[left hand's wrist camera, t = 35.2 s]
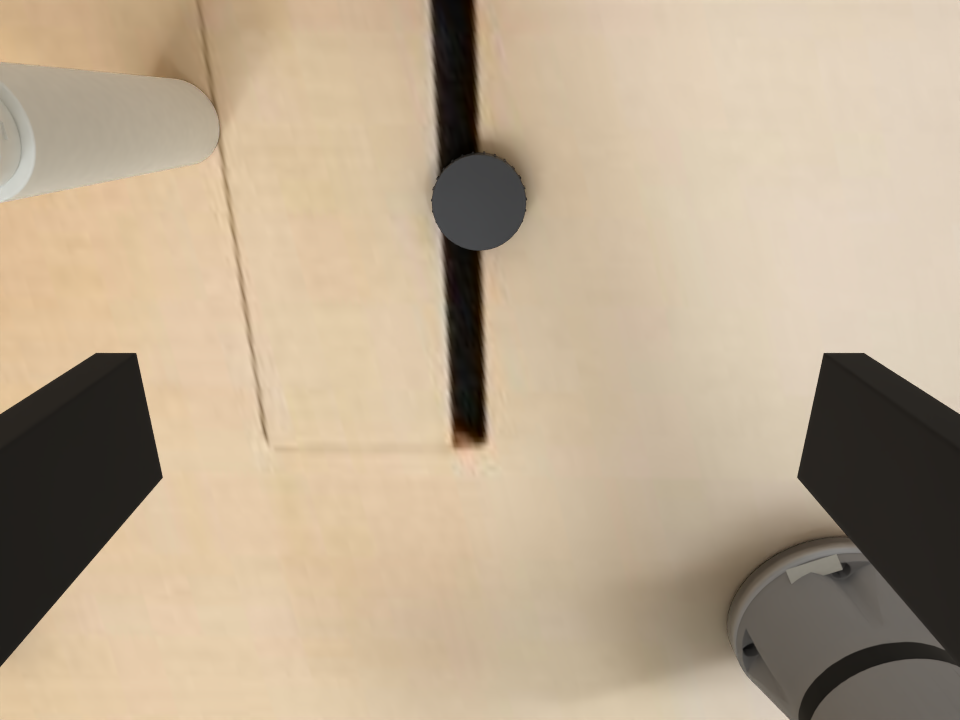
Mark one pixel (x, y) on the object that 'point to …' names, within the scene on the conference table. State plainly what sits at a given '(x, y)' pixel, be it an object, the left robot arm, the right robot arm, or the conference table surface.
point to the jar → (95, 127)
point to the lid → (479, 201)
